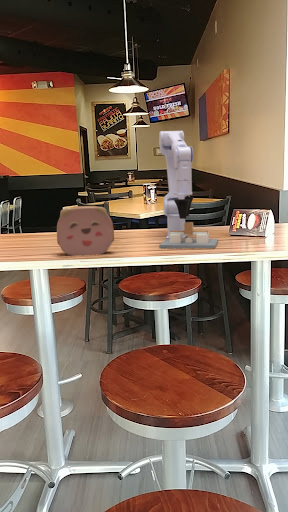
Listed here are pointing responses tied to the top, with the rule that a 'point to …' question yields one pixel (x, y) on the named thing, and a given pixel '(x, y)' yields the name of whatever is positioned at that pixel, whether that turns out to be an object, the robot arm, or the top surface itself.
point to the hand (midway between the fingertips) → (184, 217)
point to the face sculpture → (84, 230)
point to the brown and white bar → (188, 230)
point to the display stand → (189, 242)
